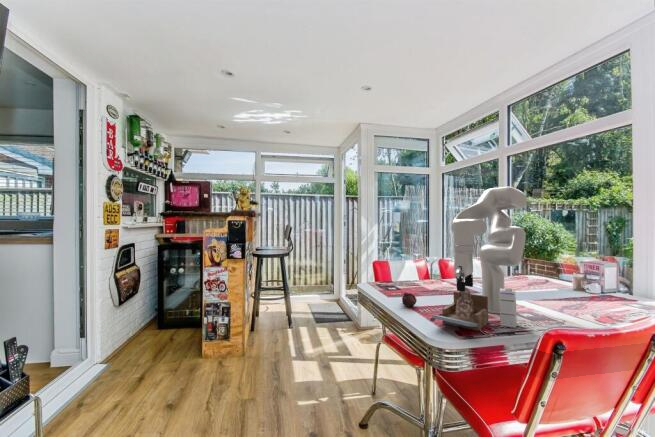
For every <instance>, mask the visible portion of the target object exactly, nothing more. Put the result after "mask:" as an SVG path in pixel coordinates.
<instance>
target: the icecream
mask: <svg viewBox="0 0 655 437" xmlns="http://www.w3.org/2000/svg"><path fill="white" fill-rule="evenodd" d="M401 300H402V301H401V302H402V304H403V306H405V307H407V308H412V307H415V305H416V303H417V298H416V296H415V295H414V294H412V293H411V292H409V293H408V292H404V293H403V296H402V298H401Z"/></svg>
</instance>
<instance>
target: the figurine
mask: <svg viewBox="0 0 655 437" xmlns="http://www.w3.org/2000/svg"><path fill="white" fill-rule="evenodd" d="M458 292H459V299H458V300H457V305H456V316H458V317H461V318H466V319H472V318H474V309H473V302H472V301H473V300H472V299H471V295H470V294H471V290H469V288H467V287H465V292H462V291H458Z"/></svg>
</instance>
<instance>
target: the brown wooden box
mask: <svg viewBox="0 0 655 437" xmlns="http://www.w3.org/2000/svg"><path fill="white" fill-rule="evenodd" d="M459 292H460V291H457V290H456V291H453V302H451V303H450V304H449V305H447V306H444V307H443V308H442V309H441V310H442V313H441V314H442V316H445V317H449V318H454V319H459V320H463V321H468V322H473V323H477V324H478V325H477V327H469V326H464V325H460V324H459V326H456V325H452V324H449V325H450V326H455V327H458V328H463V329H467V328H468V329H467V330H471V329H473V330H472V331H476V330H477V331H476V332H479V331H480V330H481V329H482V328H483V327H484V326H486V325H487V324H488V323H489V312H488V296H483V295H482V294H475V293H470V295H471V299H472V300H473V301H472V302H473V309H474V318H472V319H466V318H461V317H458V316H456V305H457V300H458V299H459ZM444 324H445V325H448V324H447V323H444ZM478 330H479V331H478Z"/></svg>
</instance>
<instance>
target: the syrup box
mask: <svg viewBox="0 0 655 437" xmlns="http://www.w3.org/2000/svg"><path fill="white" fill-rule="evenodd" d="M499 297H500V314H499V319H500V321H499V324H500V326H503V327H506V328H507V327H508V328H513V329H514V328H515V329H517V300H516V290H515V289H513V288H500V290H499Z"/></svg>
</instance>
